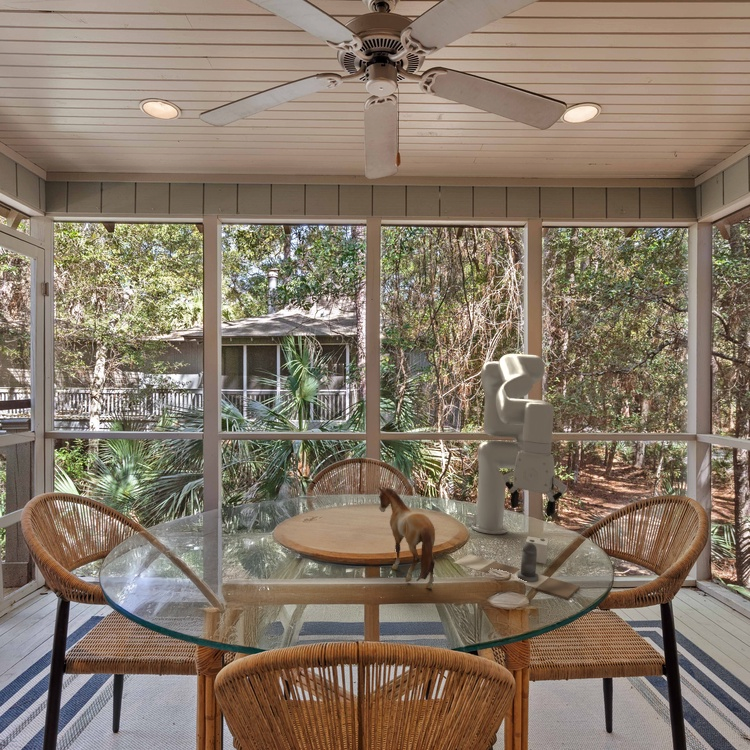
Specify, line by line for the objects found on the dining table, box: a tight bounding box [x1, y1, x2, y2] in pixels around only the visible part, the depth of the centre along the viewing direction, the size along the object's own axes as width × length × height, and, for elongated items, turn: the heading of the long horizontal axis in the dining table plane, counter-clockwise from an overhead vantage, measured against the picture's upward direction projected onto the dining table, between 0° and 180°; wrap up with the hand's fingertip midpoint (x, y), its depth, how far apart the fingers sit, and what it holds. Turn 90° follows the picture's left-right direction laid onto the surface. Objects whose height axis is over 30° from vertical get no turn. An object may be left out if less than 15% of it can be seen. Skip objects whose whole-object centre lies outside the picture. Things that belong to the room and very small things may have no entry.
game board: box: [452, 553, 580, 601], centre depth 142 cm, size 32×10×1 cm, turn 53°
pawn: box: [517, 542, 539, 582], centre depth 140 cm, size 5×5×9 cm
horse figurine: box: [378, 486, 436, 589], centre depth 137 cm, size 31×8×21 cm, turn 20°
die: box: [525, 536, 549, 565], centre depth 156 cm, size 6×6×6 cm
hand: (531, 511), depth 140 cm, fingers open, 9 cm apart
